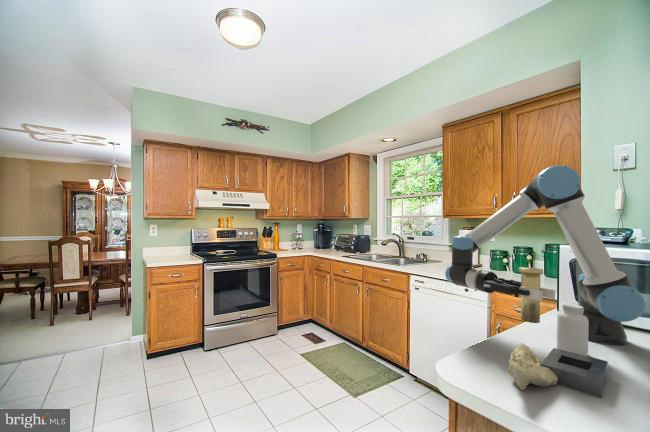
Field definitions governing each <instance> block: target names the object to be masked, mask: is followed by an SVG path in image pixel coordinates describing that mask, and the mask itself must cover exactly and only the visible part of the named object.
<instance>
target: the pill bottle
mask: <svg viewBox="0 0 650 432" xmlns="http://www.w3.org/2000/svg"><path fill="white" fill-rule="evenodd" d="M561 310H562V311H560V312H558V313H557V316H556V317H557V318H556V349H560V350H564V351H568V352H572V353H576V354H580V355H584V356H588V355H589V340H588V328H589V321H588V318H587V317H586V316H584V315H582V314H583V312H584V308H583V307H582V306H579V304H573V303H563V304H562V309H561Z"/></svg>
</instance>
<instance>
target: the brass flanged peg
mask: <svg viewBox="0 0 650 432" xmlns="http://www.w3.org/2000/svg"><path fill="white" fill-rule="evenodd" d="M518 272H519V273H520V275H521V276H520V278H521V279H520V282H521V287H526V288H531V289H535V290H540V287H541V275H544V269H542V268H538V267H525V266H521V267H518ZM520 320H521V322H526V323H531V324H539V323H541V300H537V299H532V298H528V297H524V296H520Z"/></svg>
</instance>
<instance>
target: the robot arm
mask: <svg viewBox="0 0 650 432" xmlns="http://www.w3.org/2000/svg"><path fill="white" fill-rule="evenodd" d="M585 197H586V195H585V194H584V192H583V190H582V187H581V177H580V174H579V173H578V172H577V170H575V169H574V168H572V167H571V166H568V165H561V164H555V165H551V166H549V167H547V168H544V169H542V170H541V171H540V172H539V173H538V174H537V175H536V176H535V177H533V179H532V180H531V181H530V182H529V183H528V184H526V186H525V187H524V188H522V189H521V190H520V191H519V192H518V196H516V197H515V198H514V199H512V200H511V201H510V202H508V203H507V204H505V205H504V206H503V207H501V208H500V209H499V210H498V211H496V212H495V213H494V214H492V215H490V217H488V218H487V219H485V220H484V221H483V222H482V223H480V224H479V225H477V226H476V227H474V228H473V229H472V230H471V231H469V232H468V233H467V234H466V235H455V236H453V237H452V239H451V241H452V242H451V264H450V265H449V266H447V268H446V270H445V272H444V275H445V279H446V280H447V281H448V282H449V283H450V284H453V285H455V286H459V287H463V288H468V289H472V290H474V291H475V292H477V291H479V292H483V293H487V294H492V293H495V292H498V293H502V294H506V295H509V296H513V295H514V298H519V296H520V297H521V296H524V297H528V298H532V299H537V300H540V301H543V298H546V299H551V300H556V289H553V288H552V289H551V288H549V287H542V286H540V290H535V289H531V288H526V287H521V281H519V280H515V279H505V278H503V277H502V278H501V277H498V274H496V273H495V272H494V271H488V270H484V269H478V268H473V265H474V264H473V261H474V259H473V257H474V253H475V252H476V251H478V250H480V249H481V247H483V246H484V245H486V244H487V243H488V242H490V241H491V240H493V239H494V238H496V237H497V236H499V235H500V234H501V233H502V232H504V231H506V230H507V229H508V228H510V227H512V225H514V224H516V223H517V222H518V221H520V220H521V219H522V218H524V217H525V216H526V215H528V214H529V213H530V212H532V211H534V210H535V211H538V210H540V209H541V208H543V207H544V208H545V210H547V211H549V212H552V213H553V215H554V216H555V218H556V221H557V223H558V225H559V227H560V229H561V230H562V233H563V235H564V236H565V239H566V241H567V242H568V245H569V247H570V250H571V251H572V253H573V255H574V257H575V260H576V261H577V263H578V265H579V266H580V269H581V271H582V273H581V274H579V276H578V281H577V283H578V305H579V306H582V307H583V308H584V312H583V314H582V315H584V316H586V317H587V318H588V321H589V328H588V341H592V342H595V343H600V344H606V345H617V346H618V345H619V346H621V345H627V344H628V336H627V334H626V331H625V328H624V325H623V323H622V322H624V323H626V322H631V321H634V320H637V319H639V318H640V317H641V316H642V315H643V314H644V312H645V310H646V306H647V305H646V301H645V298H644V296H643V295H642V294H641V293H640V292H639V291H638V290H637V289H635V288H634V287H633V285H632V283H631V281H630V279H629V278H628V276H627V274H626V273H625V272H623V271H620V270H618V269H617V268H616V266H615V264H614V261H613V260H612V258H611V256H610V254H609V252H608V249H606V246H605V244H604V242H603V241H602V239H601V237H600V235H599V233H598V231H597V229H596V226H595V225H594V223H593V221H592V220H591V218H590V215H589V214H588V212H587V210H586V208H585V205H584V204H583V201H584V199H585Z"/></svg>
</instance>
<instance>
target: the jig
mask: <svg viewBox="0 0 650 432" xmlns="http://www.w3.org/2000/svg"><path fill="white" fill-rule="evenodd" d="M540 364H541V366H542V367H546V368H549V369H550V370H551V371H552V372H554V373H555V375H556V376H557V377H558V381H557V383H556V384H555V385H558V386H562V387H565V388H568V389H571V390H575V391H577V392H581V393H584V394H587V395H590V396H594V397H596V398H600V399H602V396H603V394H604V393H603V392H604V390H605V386H606V383H607V379H608V377H609V376H608V375H609V374H608V373H609V372H608V367H609V366H608V364H609V361H607V360H605V359H600V358H595V357H593V356H592V357H591V356H588V355H587V356H584V355H580V354H576V353H572V352H568V351H564V350H560V349H557V347H556V348H555V347H553V348H552V350H551V351H549V353H548V354H547V355H546V357H545V358H544V359H543V361H542V362H540ZM607 376H608V377H607Z"/></svg>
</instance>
